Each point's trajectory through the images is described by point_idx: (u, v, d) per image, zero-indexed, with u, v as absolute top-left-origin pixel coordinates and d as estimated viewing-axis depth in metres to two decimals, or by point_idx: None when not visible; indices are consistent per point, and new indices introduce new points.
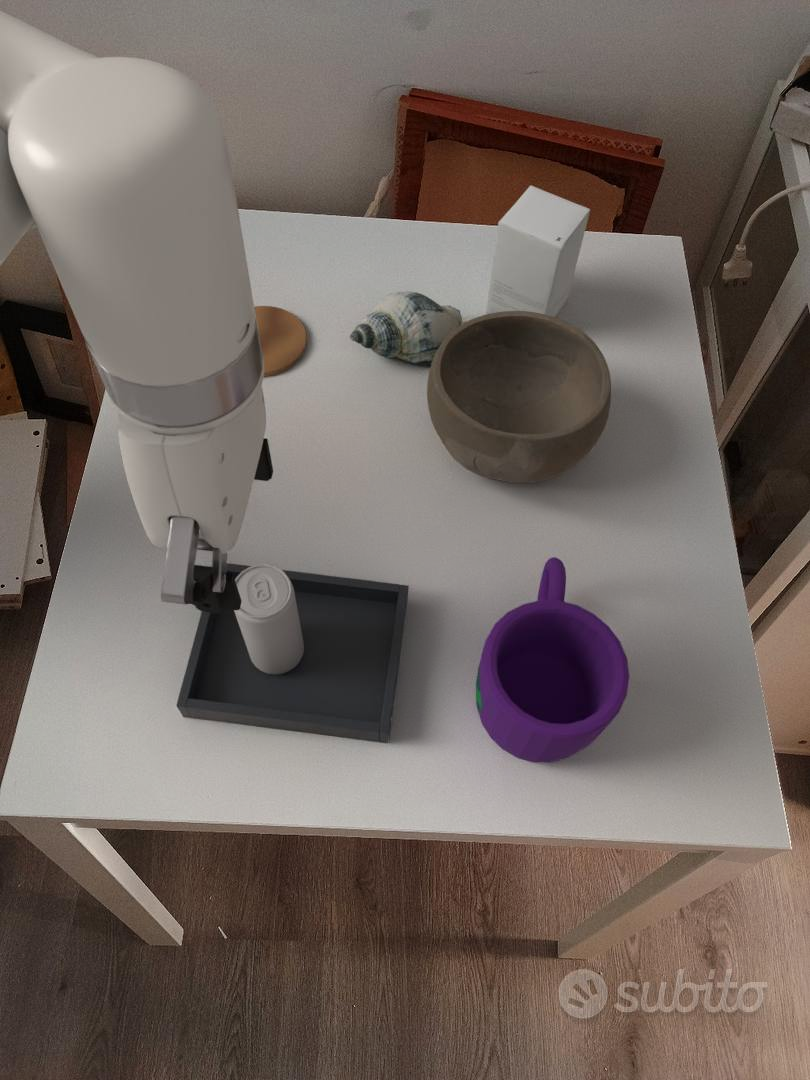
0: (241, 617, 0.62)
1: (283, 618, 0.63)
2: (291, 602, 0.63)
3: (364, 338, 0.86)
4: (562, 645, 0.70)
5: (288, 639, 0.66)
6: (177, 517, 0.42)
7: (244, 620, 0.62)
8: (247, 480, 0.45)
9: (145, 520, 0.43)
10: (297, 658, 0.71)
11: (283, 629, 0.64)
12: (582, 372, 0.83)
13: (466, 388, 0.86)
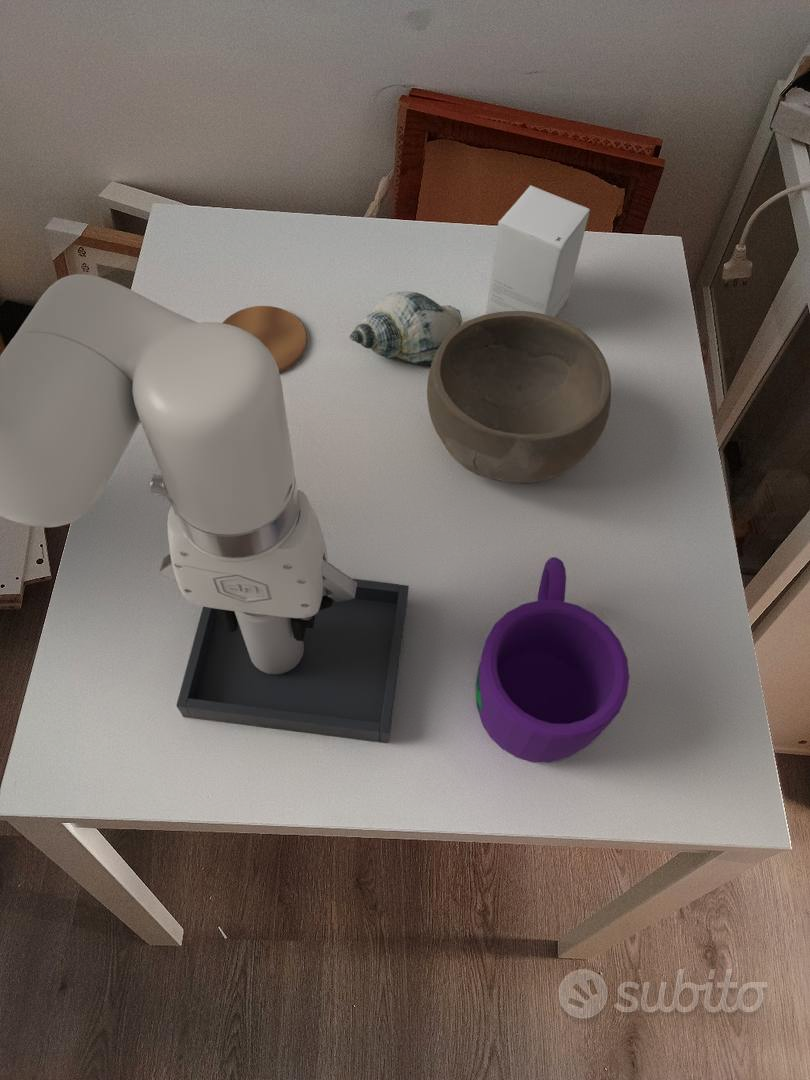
0: (241, 617, 0.62)
1: (283, 618, 0.63)
2: None
3: (364, 338, 0.86)
4: (562, 645, 0.70)
5: (288, 639, 0.66)
6: (321, 564, 0.57)
7: (244, 620, 0.62)
8: None
9: (317, 592, 0.57)
10: (297, 658, 0.71)
11: (283, 629, 0.64)
12: (582, 372, 0.83)
13: (466, 388, 0.86)
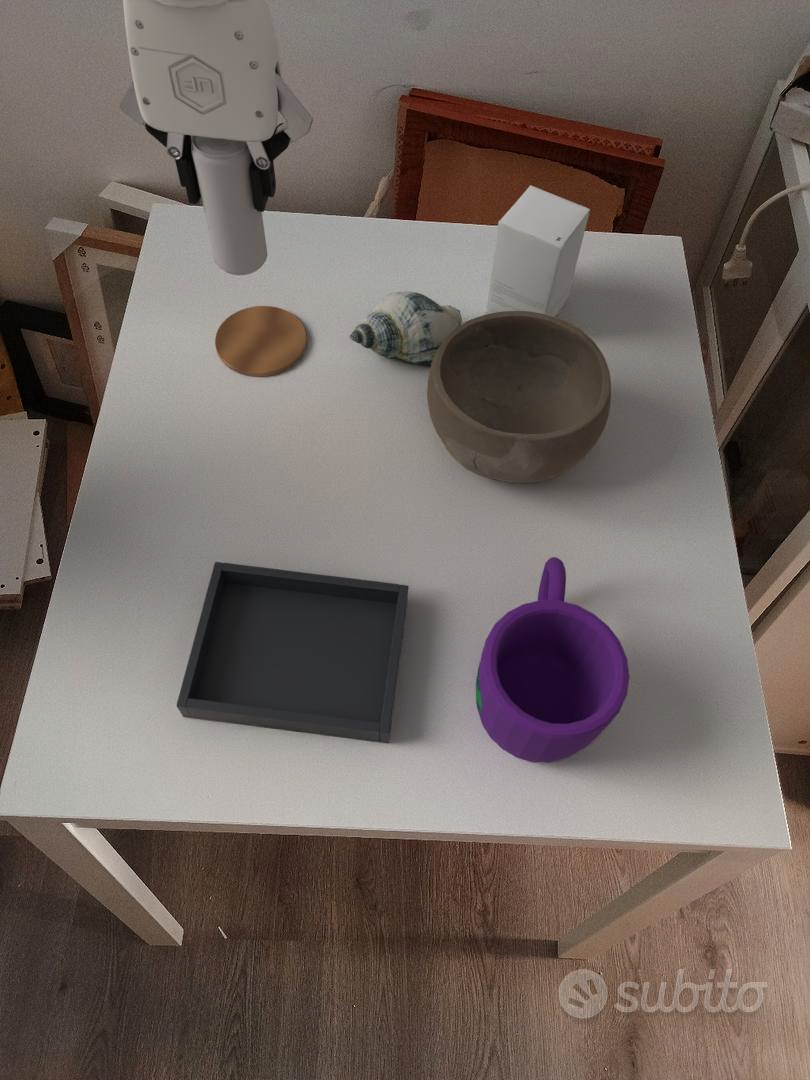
0: (200, 161, 0.64)
1: (242, 167, 0.65)
2: (249, 151, 0.65)
3: (364, 339, 0.86)
4: (562, 645, 0.70)
5: (248, 210, 0.68)
6: None
7: (203, 164, 0.64)
8: None
9: (270, 95, 0.58)
10: (260, 257, 0.73)
11: (242, 187, 0.66)
12: (582, 372, 0.83)
13: (466, 388, 0.86)
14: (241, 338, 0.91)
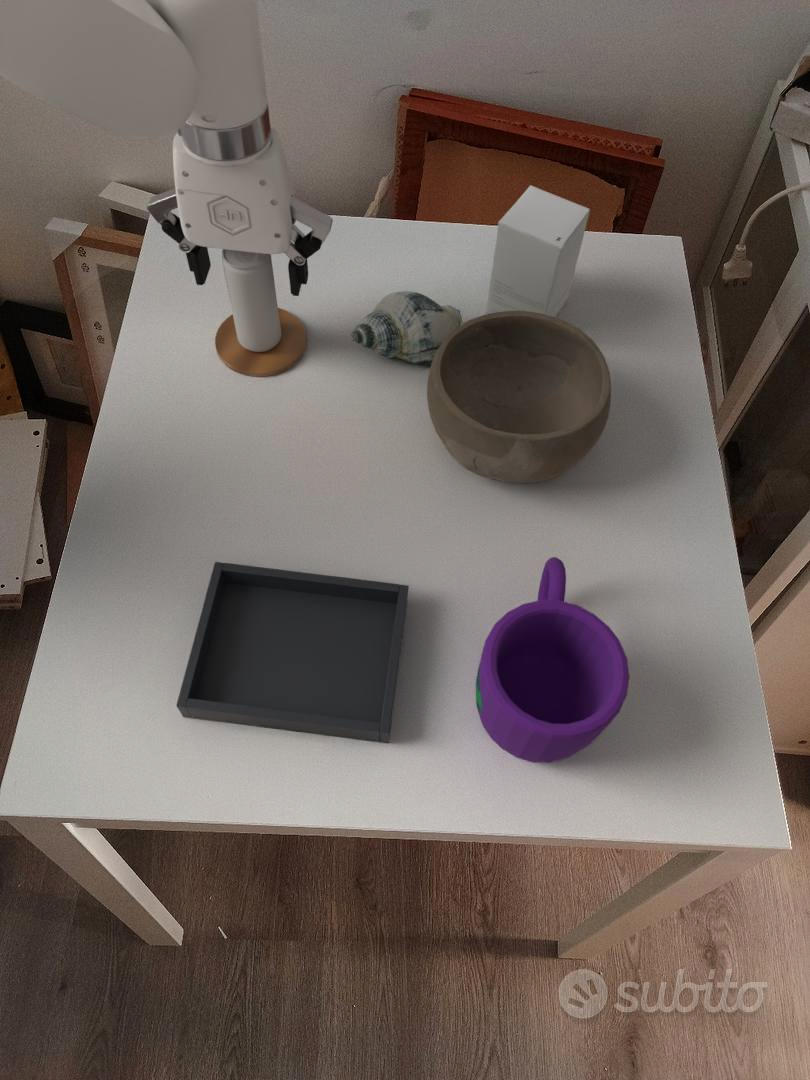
0: (230, 271, 0.80)
1: (262, 274, 0.81)
2: (268, 262, 0.81)
3: (364, 339, 0.86)
4: (562, 645, 0.70)
5: (267, 304, 0.84)
6: (289, 201, 0.75)
7: (232, 273, 0.80)
8: None
9: (286, 221, 0.74)
10: (276, 337, 0.89)
11: (262, 289, 0.82)
12: (582, 372, 0.83)
13: (466, 388, 0.86)
14: None
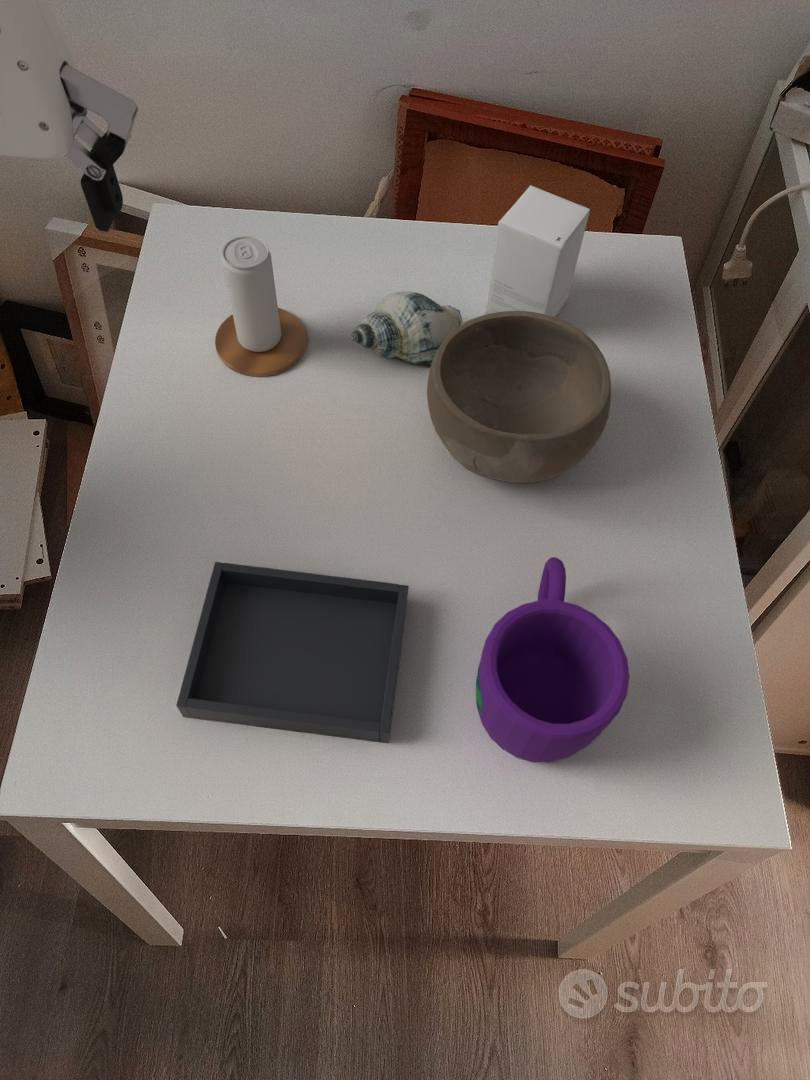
0: (230, 271, 0.80)
1: (262, 274, 0.81)
2: (268, 262, 0.81)
3: (364, 339, 0.86)
4: (562, 645, 0.70)
5: (267, 304, 0.84)
6: (60, 71, 0.47)
7: (232, 273, 0.80)
8: None
9: (54, 102, 0.47)
10: (276, 337, 0.89)
11: (262, 289, 0.82)
12: (582, 372, 0.83)
13: (466, 388, 0.86)
14: None
